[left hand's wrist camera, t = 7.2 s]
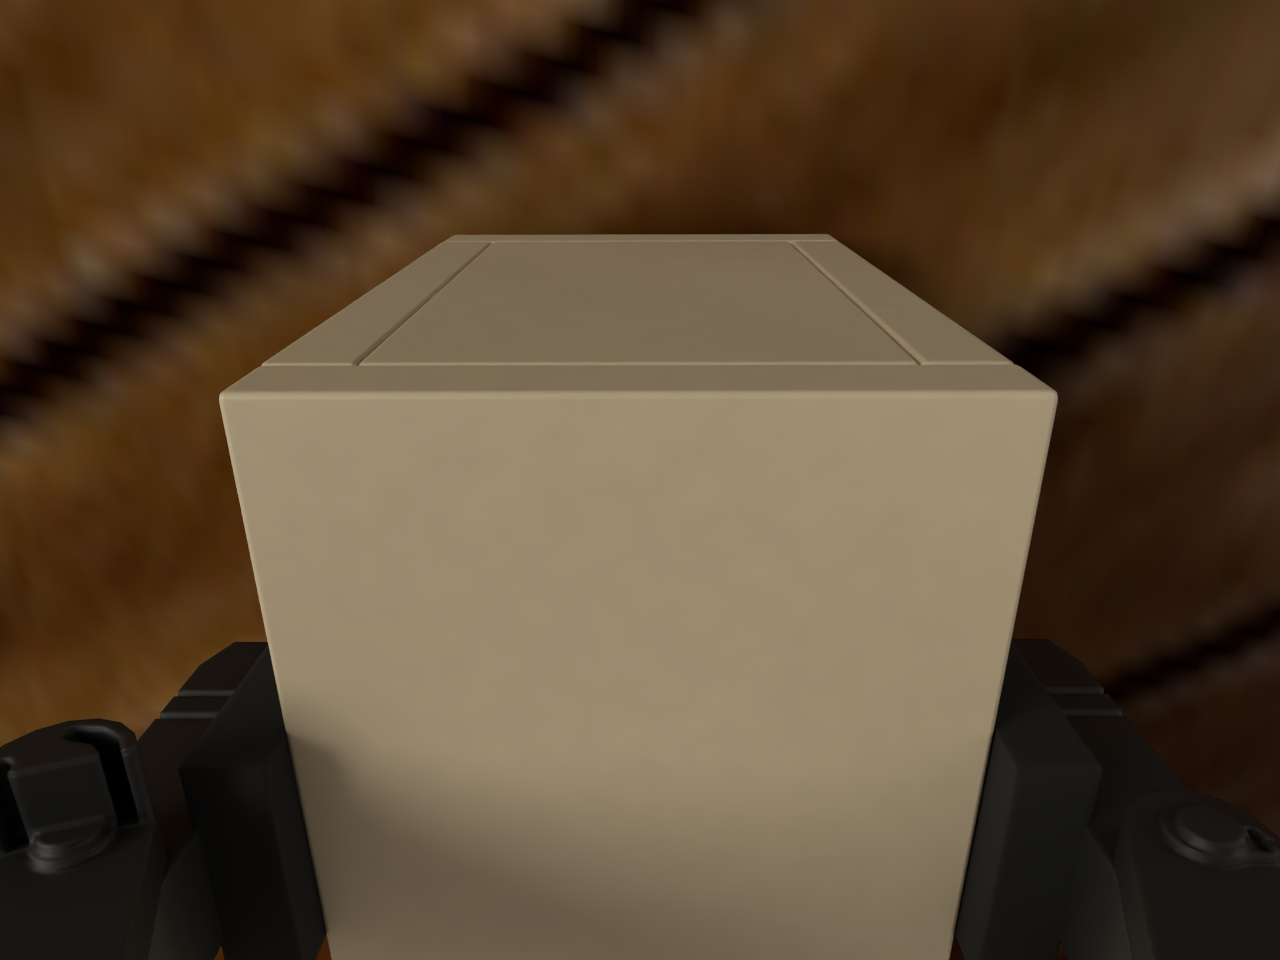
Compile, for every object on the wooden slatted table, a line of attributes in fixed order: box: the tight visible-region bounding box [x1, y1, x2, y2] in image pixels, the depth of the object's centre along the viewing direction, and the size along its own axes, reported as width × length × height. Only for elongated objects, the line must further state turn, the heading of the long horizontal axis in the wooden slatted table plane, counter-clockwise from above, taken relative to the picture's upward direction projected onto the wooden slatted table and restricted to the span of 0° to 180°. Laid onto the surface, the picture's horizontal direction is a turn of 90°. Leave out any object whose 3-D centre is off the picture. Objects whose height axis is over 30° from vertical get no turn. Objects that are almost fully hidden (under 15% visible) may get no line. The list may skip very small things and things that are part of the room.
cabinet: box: [219, 234, 1058, 960], centre depth 15 cm, size 22×7×9 cm, turn 0°
